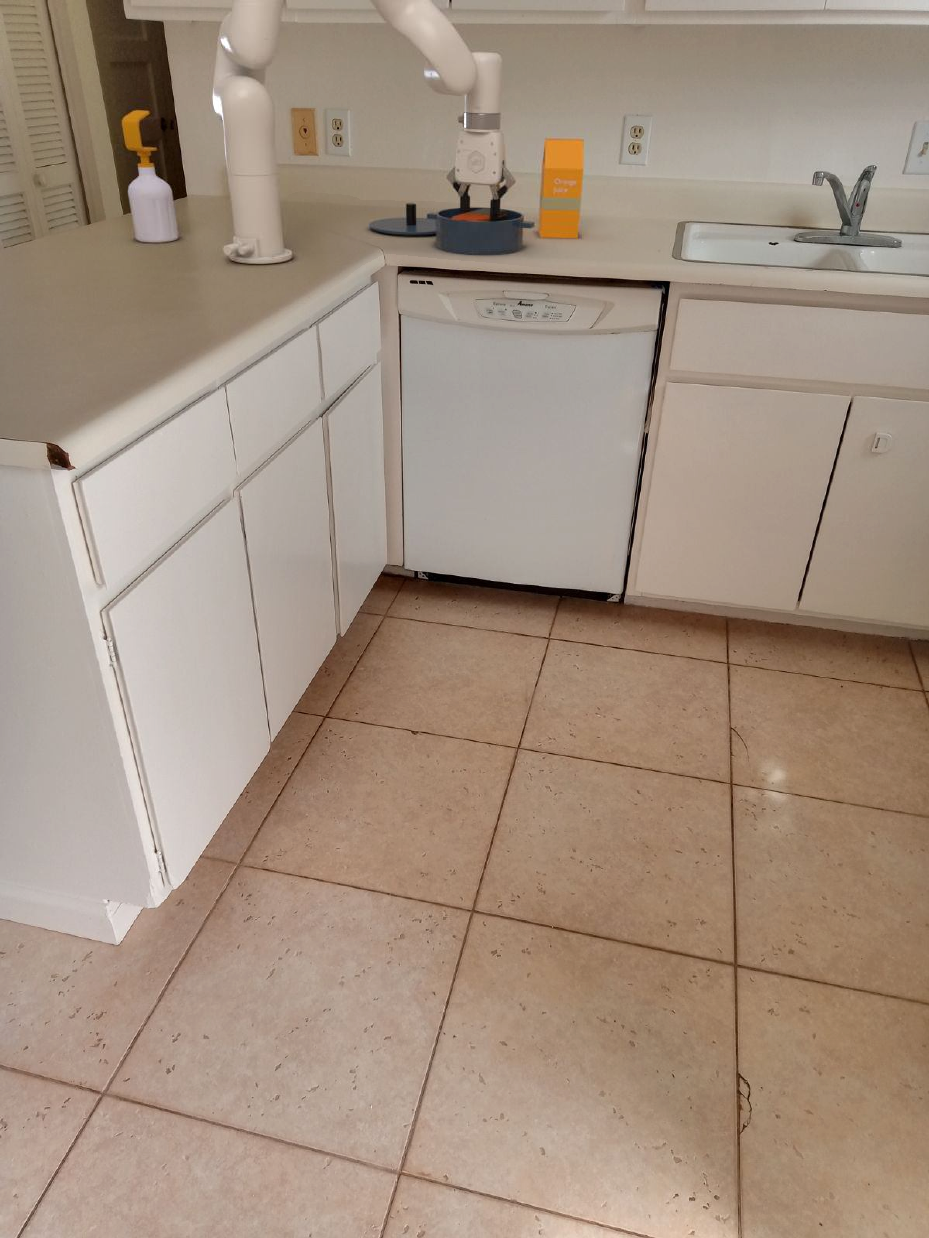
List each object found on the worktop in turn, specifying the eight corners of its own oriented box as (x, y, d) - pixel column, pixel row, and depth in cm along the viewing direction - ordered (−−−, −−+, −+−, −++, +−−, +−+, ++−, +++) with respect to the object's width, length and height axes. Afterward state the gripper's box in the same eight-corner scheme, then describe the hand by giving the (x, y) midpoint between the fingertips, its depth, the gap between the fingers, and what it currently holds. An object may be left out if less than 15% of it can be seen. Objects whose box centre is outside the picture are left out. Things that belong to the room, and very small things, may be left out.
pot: (515, 259, 185) (517, 226, 181) (410, 248, 193) (410, 215, 189) (545, 244, 199) (547, 213, 196) (446, 234, 207) (446, 204, 204)
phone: (449, 216, 188) (482, 207, 199) (449, 223, 189) (482, 213, 200) (477, 219, 186) (508, 210, 197) (477, 226, 186) (508, 216, 197)
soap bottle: (187, 238, 197) (169, 111, 184) (159, 245, 190) (138, 113, 177) (155, 234, 200) (135, 108, 187) (127, 240, 193) (104, 111, 180)
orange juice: (577, 238, 206) (586, 141, 195) (540, 237, 206) (546, 140, 195) (574, 232, 213) (582, 138, 202) (537, 231, 213) (543, 137, 202)
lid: (431, 240, 201) (431, 213, 198) (353, 232, 207) (352, 206, 204) (466, 227, 216) (466, 201, 213) (393, 219, 222) (392, 195, 219)
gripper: (436, 122, 183) (436, 217, 193) (515, 126, 177) (510, 224, 187) (451, 120, 189) (450, 212, 198) (527, 124, 183) (522, 218, 193)
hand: (479, 217), depth 193 cm, fingers closed on phone, 6 cm apart
